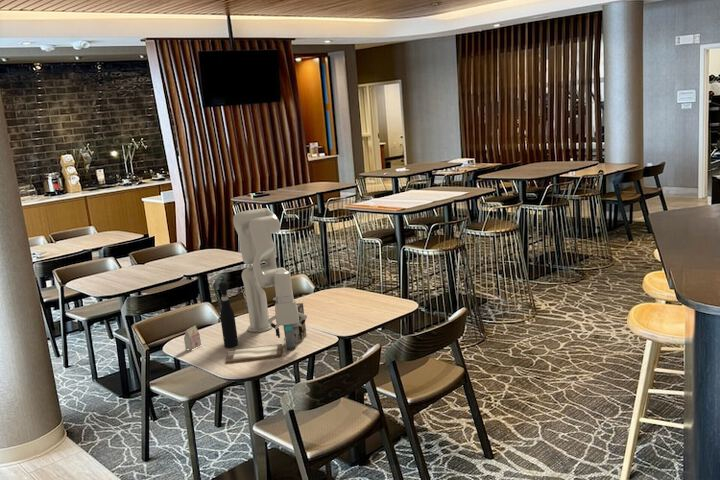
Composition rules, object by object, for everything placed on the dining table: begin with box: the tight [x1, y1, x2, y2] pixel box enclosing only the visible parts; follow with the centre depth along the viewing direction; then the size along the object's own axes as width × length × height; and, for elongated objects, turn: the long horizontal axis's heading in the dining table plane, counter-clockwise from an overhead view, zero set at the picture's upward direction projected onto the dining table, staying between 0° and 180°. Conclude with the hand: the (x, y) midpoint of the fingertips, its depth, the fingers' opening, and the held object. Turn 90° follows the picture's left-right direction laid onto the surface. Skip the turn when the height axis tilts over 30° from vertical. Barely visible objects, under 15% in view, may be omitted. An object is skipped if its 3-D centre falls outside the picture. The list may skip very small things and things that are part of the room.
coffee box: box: [293, 302, 308, 343], centre depth 309 cm, size 9×6×16 cm
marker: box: [282, 324, 296, 351], centre depth 298 cm, size 4×4×12 cm
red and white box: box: [183, 325, 202, 350], centre depth 311 cm, size 4×7×10 cm, turn 155°
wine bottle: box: [218, 282, 239, 349], centre depth 307 cm, size 6×6×30 cm
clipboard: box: [225, 343, 283, 364], centre depth 296 cm, size 14×24×2 cm, turn 94°
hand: (289, 335), depth 297 cm, fingers open, 9 cm apart
